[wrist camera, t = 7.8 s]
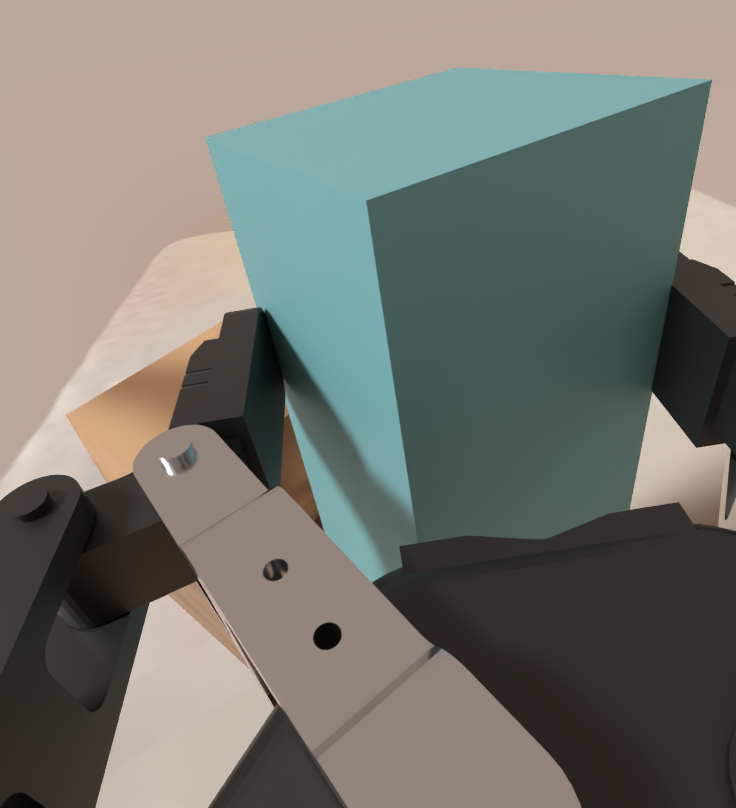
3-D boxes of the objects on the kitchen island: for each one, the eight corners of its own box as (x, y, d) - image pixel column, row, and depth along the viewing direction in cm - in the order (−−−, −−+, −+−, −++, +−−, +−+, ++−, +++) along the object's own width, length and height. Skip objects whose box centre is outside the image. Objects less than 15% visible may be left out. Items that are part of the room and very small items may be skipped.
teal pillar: (475, 457, 18) (457, 67, 12) (617, 572, 14) (711, 79, 8) (327, 541, 16) (204, 137, 10) (441, 700, 12) (366, 200, 6)
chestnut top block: (252, 413, 27) (221, 321, 24) (366, 470, 23) (346, 369, 20) (123, 510, 23) (65, 415, 20) (232, 599, 19) (181, 497, 16)
